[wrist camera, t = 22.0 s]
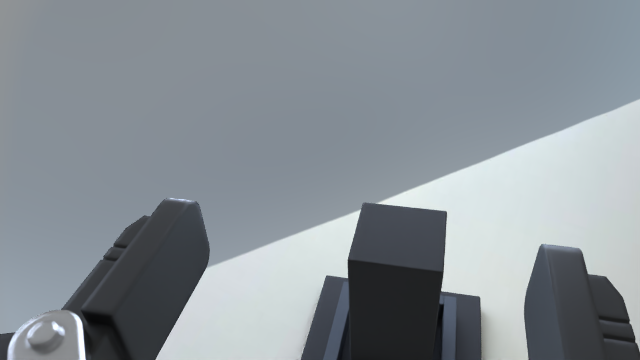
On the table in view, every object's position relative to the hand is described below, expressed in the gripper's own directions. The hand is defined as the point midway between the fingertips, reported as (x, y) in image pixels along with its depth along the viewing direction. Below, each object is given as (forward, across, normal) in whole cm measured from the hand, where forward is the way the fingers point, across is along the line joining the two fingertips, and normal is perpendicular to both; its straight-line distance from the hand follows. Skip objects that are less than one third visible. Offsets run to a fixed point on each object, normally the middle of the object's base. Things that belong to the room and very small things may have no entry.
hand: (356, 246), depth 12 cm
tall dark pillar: (+11, 0, +19) cm, 22 cm away
